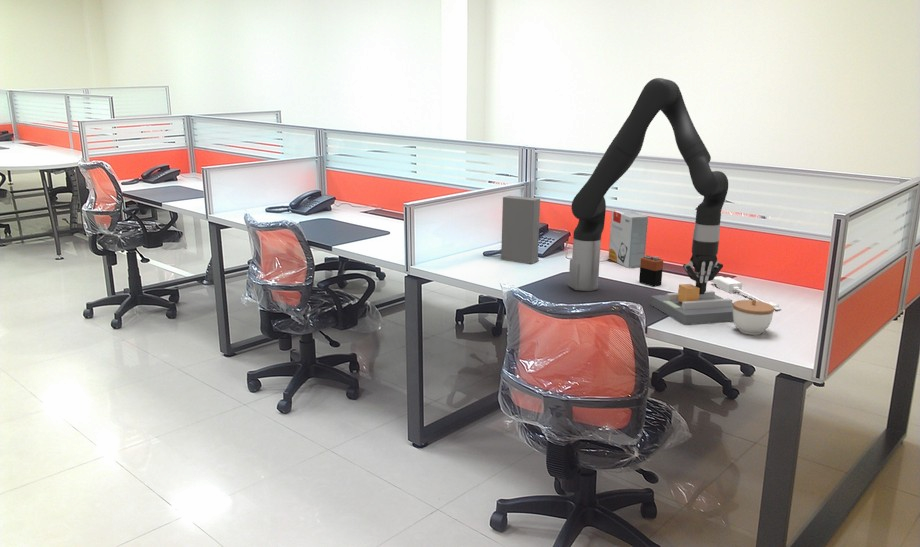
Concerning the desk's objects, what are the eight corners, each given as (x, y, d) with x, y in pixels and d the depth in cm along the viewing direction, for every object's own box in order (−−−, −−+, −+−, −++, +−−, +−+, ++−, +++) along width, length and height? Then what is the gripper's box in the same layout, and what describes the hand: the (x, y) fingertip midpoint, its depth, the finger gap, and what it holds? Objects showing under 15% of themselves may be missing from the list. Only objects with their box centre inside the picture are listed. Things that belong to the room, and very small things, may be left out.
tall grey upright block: (538, 261, 280) (541, 198, 274) (531, 264, 275) (534, 200, 269) (507, 256, 287) (509, 195, 281) (500, 259, 282) (502, 197, 276)
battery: (653, 286, 246) (656, 258, 244) (638, 282, 252) (640, 255, 249) (661, 285, 249) (664, 257, 246) (646, 280, 254) (648, 253, 251)
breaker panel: (684, 324, 207) (686, 308, 206) (650, 304, 226) (651, 289, 224) (747, 320, 212) (749, 304, 211) (708, 300, 231) (710, 286, 229)
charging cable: (770, 315, 221) (772, 305, 220) (709, 283, 251) (710, 274, 250) (784, 314, 222) (786, 303, 221) (721, 282, 252) (722, 273, 251)
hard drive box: (607, 259, 286) (610, 209, 281) (624, 257, 288) (628, 209, 283) (627, 268, 271) (631, 216, 266) (645, 267, 274) (649, 215, 269)
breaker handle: (686, 304, 214) (687, 288, 213) (677, 300, 219) (679, 284, 218) (698, 304, 215) (699, 288, 214) (689, 299, 220) (690, 283, 219)
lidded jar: (747, 323, 209) (751, 292, 207) (779, 334, 200) (783, 302, 198) (722, 328, 204) (725, 297, 202) (752, 340, 195) (756, 307, 193)
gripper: (693, 241, 208) (687, 298, 212) (732, 240, 211) (726, 295, 216) (679, 236, 215) (674, 291, 219) (717, 235, 218) (712, 289, 223)
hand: (700, 293), depth 218 cm, fingers closed
